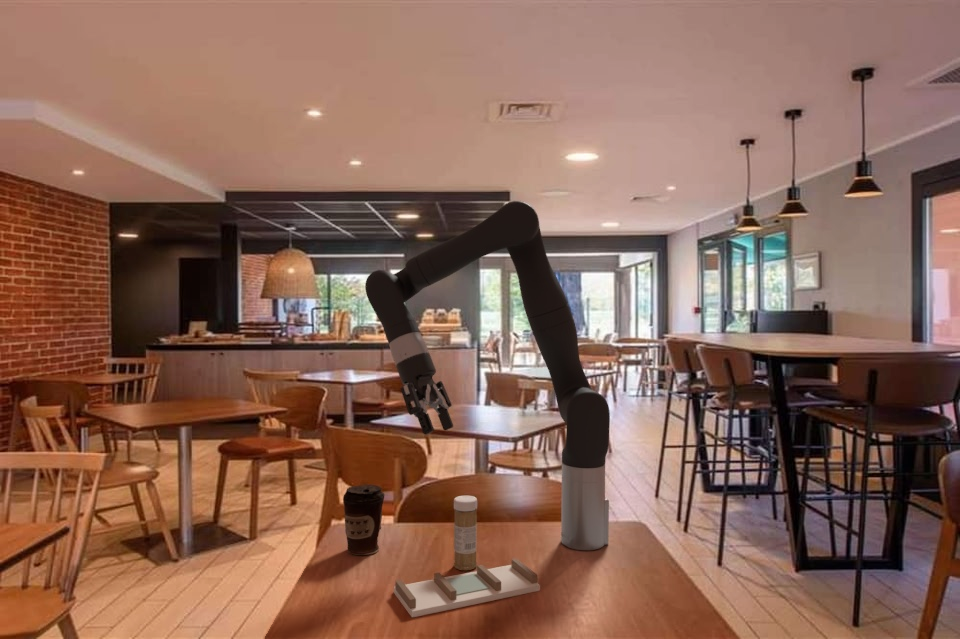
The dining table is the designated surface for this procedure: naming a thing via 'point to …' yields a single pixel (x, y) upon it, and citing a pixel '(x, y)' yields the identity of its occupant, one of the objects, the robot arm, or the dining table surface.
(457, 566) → the sprinkles bottle
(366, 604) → the dining table surface
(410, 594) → the rack
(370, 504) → the coffee cup
